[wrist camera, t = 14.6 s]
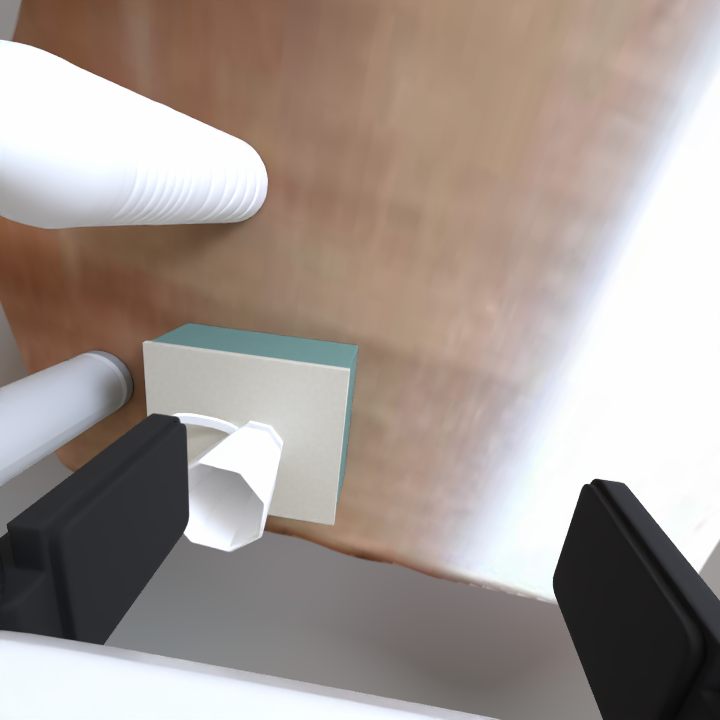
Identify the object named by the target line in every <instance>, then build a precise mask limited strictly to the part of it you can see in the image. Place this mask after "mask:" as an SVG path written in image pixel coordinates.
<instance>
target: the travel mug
mask: <svg viewBox="0 0 720 720" xmlns="http://www.w3.org/2000/svg"><path fill="white" fill-rule="evenodd" d="M132 391H133V382H132V377H131V375H130V373H129V371H128V369H127V368H126V366H125V365H124V364H123V363H122V362H121V361H120V360H119V359H118V358H117V357H115V356H113V355H111V354H109V353H107V352H104V351H98V350H96V351H88V352H85V353H83V354H80V355H78V356H76V357H73V358H71V359H68V360H66V361H64V362H61V363H59V364H56V365H54V366H52V367H49V368H47V369H44V370H42V371H40V372H37V373H35V374H32V375H30V376H28V377H25V378H23V379H21V380H18V381H16V382H13V383H11V384H8V385H6V386H4V387H1V388H0V487H1V486H2V485H4V484H5V483H7V482H8V481H10V480H11V479H13V478H14V477H16V476H17V475H19V474H20V473H22V472H23V471H25V470H27V469H28V468H29V467H31V466H32V465H34V464H36V463H37V462H39V461H40V460H42V459H43V458H45V457H46V456H48V455H49V454H51V453H52V452H54V451H55V450H57V449H58V448H60V447H61V446H63V445H65V444H66V443H68V442H69V441H71V440H72V439H74V438H75V437H77V436H78V435H80V434H81V433H83V432H84V431H86V430H87V429H89V428H90V427H92V426H93V425H95V424H96V423H98V422H99V421H101V420H103V419H104V418H106V417H107V416H109V415H110V414H112V413H113V412H114V411H116V410H118V409H119V408H121V407H122V406H124V405H125V404H126V403H127V402H128V401H129V399H130V398H131V395H132Z"/></svg>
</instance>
